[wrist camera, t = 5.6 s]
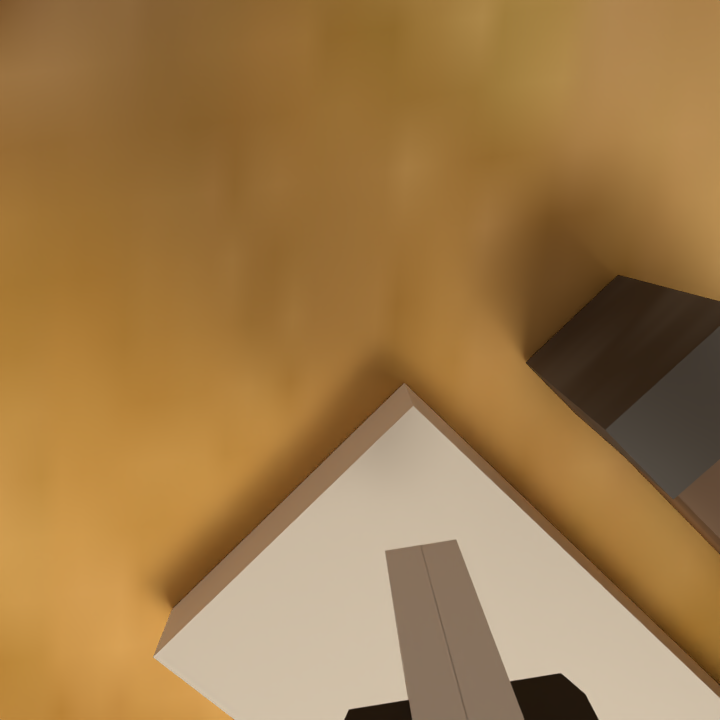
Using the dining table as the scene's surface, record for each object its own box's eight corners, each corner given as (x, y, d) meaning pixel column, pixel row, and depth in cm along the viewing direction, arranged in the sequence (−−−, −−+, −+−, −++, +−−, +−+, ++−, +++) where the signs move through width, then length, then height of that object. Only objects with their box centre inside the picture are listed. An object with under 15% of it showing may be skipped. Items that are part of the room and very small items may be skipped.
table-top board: (404, 382, 21) (413, 406, 18) (764, 728, 24) (810, 784, 22) (172, 609, 22) (153, 657, 20) (543, 902, 26) (564, 972, 24)
